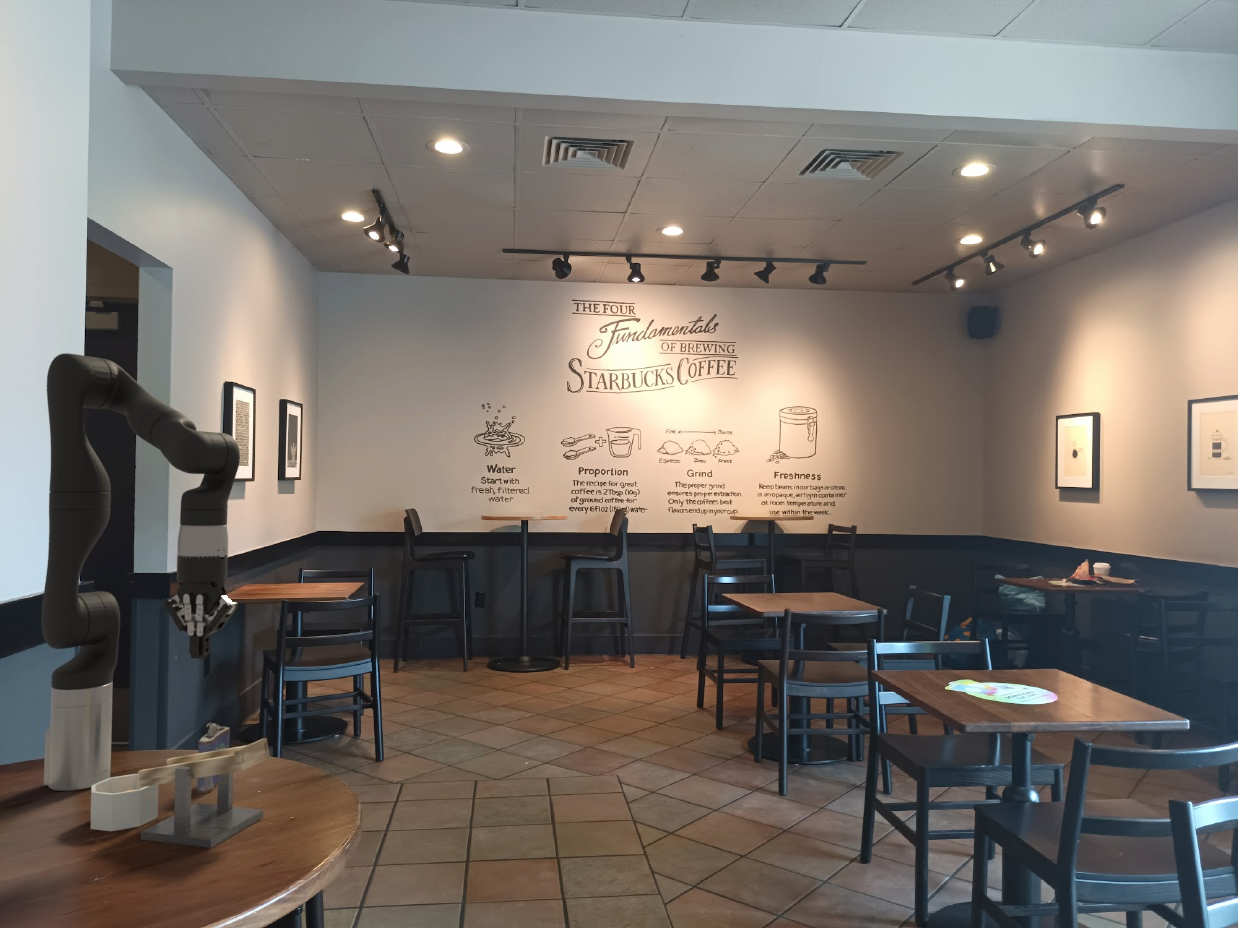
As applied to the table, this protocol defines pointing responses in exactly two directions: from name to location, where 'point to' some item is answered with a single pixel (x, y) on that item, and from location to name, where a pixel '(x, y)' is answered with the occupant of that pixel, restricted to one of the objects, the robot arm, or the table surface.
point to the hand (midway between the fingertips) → (199, 657)
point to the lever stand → (201, 815)
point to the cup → (122, 803)
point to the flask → (208, 743)
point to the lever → (208, 763)
